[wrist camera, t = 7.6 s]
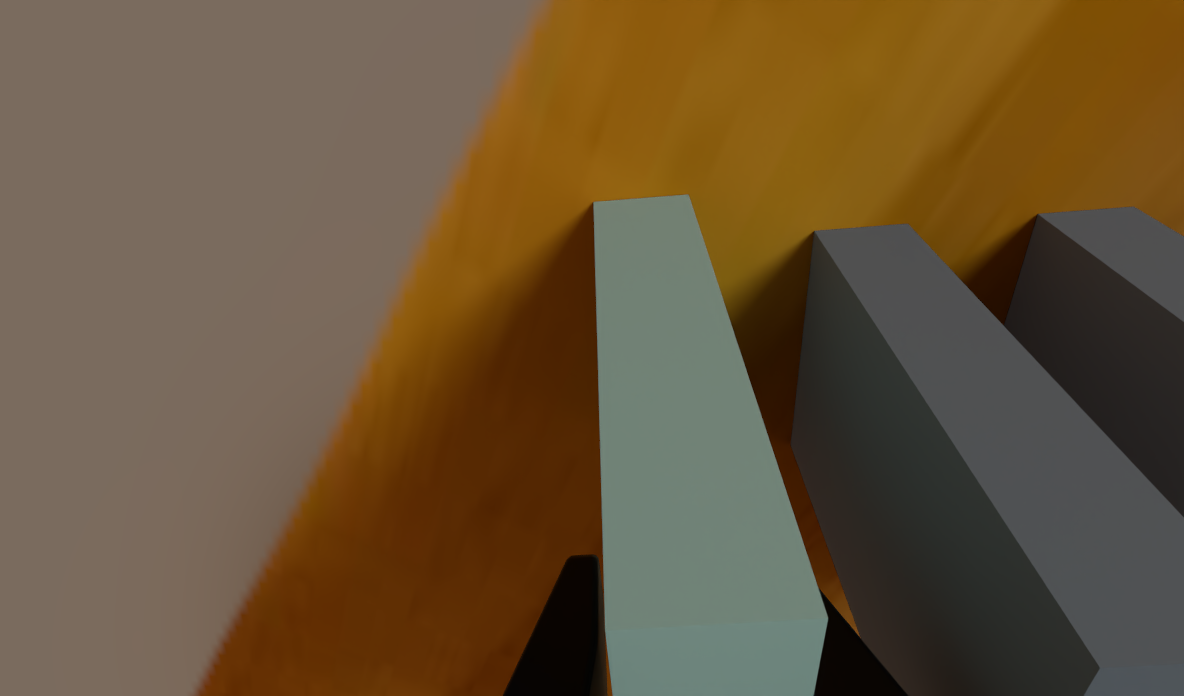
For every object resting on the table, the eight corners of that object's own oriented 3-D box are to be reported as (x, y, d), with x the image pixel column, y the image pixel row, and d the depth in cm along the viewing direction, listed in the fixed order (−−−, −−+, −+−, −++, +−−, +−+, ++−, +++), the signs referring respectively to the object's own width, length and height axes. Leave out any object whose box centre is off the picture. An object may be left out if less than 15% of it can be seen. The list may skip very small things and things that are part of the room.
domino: (790, 444, 15) (958, 905, 8) (814, 230, 12) (1100, 667, 5) (866, 440, 15) (1096, 900, 8) (907, 223, 12) (1314, 656, 5)
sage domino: (688, 194, 12) (828, 617, 5) (688, 421, 14) (777, 885, 8) (593, 202, 12) (604, 631, 5) (612, 426, 14) (636, 890, 8)
